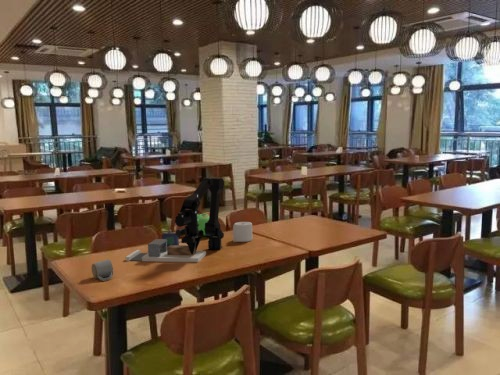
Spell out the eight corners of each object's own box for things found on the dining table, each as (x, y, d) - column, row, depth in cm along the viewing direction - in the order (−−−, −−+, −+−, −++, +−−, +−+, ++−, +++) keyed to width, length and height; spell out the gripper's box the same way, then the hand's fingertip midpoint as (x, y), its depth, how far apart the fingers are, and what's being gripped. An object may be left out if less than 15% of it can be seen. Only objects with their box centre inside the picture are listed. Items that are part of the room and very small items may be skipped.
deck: (206, 254, 235) (205, 250, 235) (198, 262, 221) (198, 258, 221) (137, 253, 242) (137, 249, 242) (125, 260, 228) (125, 257, 228)
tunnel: (167, 251, 237) (166, 239, 236) (159, 256, 226) (158, 244, 226) (156, 250, 238) (155, 239, 237) (148, 256, 227) (147, 244, 227)
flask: (179, 247, 252) (178, 228, 251) (178, 248, 249) (177, 230, 248) (163, 247, 253) (162, 229, 251) (162, 249, 250) (161, 230, 248)
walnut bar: (196, 253, 231) (195, 245, 230) (193, 255, 226) (192, 247, 226) (170, 252, 234) (170, 245, 233) (167, 254, 229) (167, 247, 229)
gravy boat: (219, 237, 273) (218, 213, 271) (192, 239, 270) (191, 215, 268) (217, 231, 290) (216, 209, 289) (191, 233, 288) (190, 210, 286)
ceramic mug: (91, 276, 204) (90, 260, 203) (109, 273, 209) (107, 257, 208) (98, 283, 195) (97, 266, 194) (116, 279, 200) (115, 262, 199)
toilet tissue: (254, 237, 268) (253, 221, 267) (250, 242, 257) (249, 225, 256) (237, 237, 271) (236, 221, 269) (232, 242, 259) (231, 225, 258)
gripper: (183, 219, 237) (184, 247, 239) (170, 226, 219) (172, 257, 221) (203, 219, 235) (204, 247, 237) (192, 226, 217) (193, 257, 219)
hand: (193, 252), depth 229 cm, fingers closed on walnut bar, 4 cm apart
